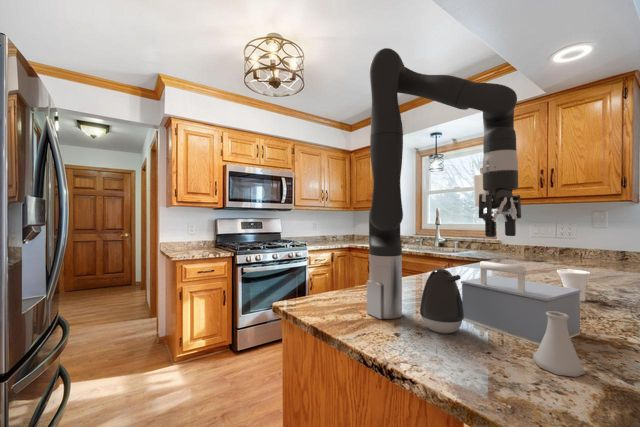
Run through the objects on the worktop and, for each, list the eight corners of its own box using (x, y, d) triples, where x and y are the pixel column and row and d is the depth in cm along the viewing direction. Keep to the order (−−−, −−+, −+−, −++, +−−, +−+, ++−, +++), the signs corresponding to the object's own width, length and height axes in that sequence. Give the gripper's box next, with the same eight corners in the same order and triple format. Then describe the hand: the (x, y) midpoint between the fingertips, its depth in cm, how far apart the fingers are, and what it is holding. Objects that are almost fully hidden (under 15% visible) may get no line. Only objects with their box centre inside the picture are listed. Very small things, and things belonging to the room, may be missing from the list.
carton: (547, 347, 63) (546, 301, 63) (462, 320, 80) (462, 284, 81) (580, 333, 71) (579, 293, 71) (496, 311, 88) (495, 278, 88)
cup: (587, 298, 103) (587, 269, 104) (594, 304, 96) (593, 273, 96) (555, 294, 108) (555, 267, 108) (559, 300, 100) (558, 270, 101)
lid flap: (547, 301, 63) (547, 270, 63) (460, 283, 81) (460, 259, 81) (580, 292, 71) (580, 264, 71) (495, 277, 89) (495, 255, 89)
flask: (524, 359, 58) (523, 308, 58) (558, 357, 59) (557, 307, 59) (556, 379, 51) (556, 320, 51) (595, 377, 51) (594, 319, 52)
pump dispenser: (445, 341, 66) (444, 273, 67) (411, 326, 76) (410, 267, 76) (474, 333, 71) (473, 270, 71) (438, 320, 80) (438, 264, 81)
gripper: (499, 166, 66) (500, 238, 66) (531, 171, 73) (532, 236, 73) (468, 171, 73) (468, 236, 72) (500, 175, 80) (501, 234, 79)
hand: (500, 236), depth 73 cm, fingers open, 8 cm apart
